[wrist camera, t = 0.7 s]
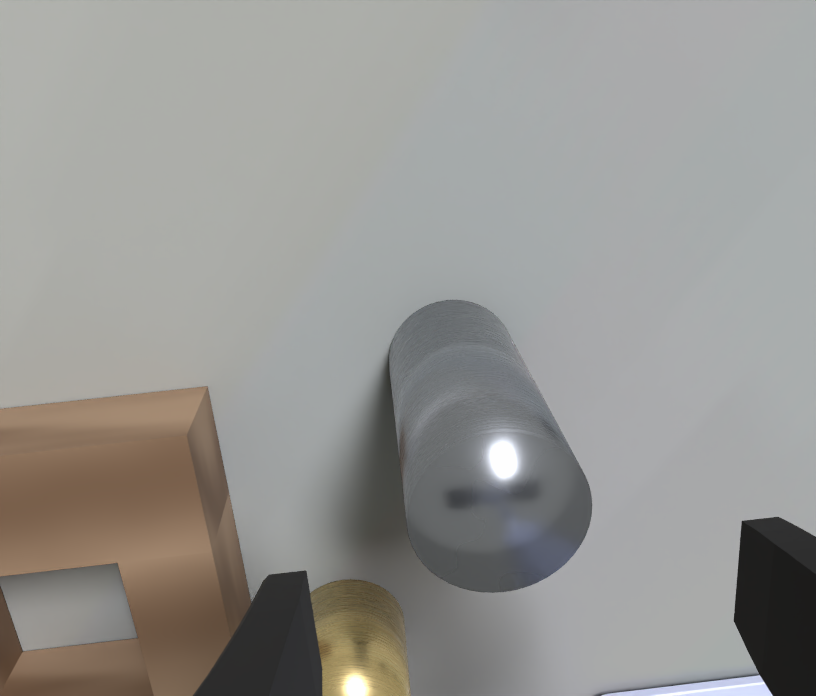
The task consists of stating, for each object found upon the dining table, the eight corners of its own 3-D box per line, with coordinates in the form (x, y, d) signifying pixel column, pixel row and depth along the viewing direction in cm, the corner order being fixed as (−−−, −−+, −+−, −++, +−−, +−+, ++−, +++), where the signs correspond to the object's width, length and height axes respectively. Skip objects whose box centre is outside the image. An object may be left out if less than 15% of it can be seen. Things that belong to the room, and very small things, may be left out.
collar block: (271, 706, 27) (262, 783, 24) (-25, 741, 26) (-69, 824, 24) (207, 386, 22) (186, 435, 20) (-149, 425, 22) (-222, 480, 19)
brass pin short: (408, 661, 26) (418, 777, 22) (302, 673, 26) (293, 792, 22) (398, 573, 25) (408, 679, 21) (286, 586, 25) (273, 695, 21)
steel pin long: (515, 408, 23) (592, 581, 16) (395, 422, 23) (414, 601, 16) (510, 293, 22) (592, 422, 14) (382, 307, 22) (398, 443, 14)
